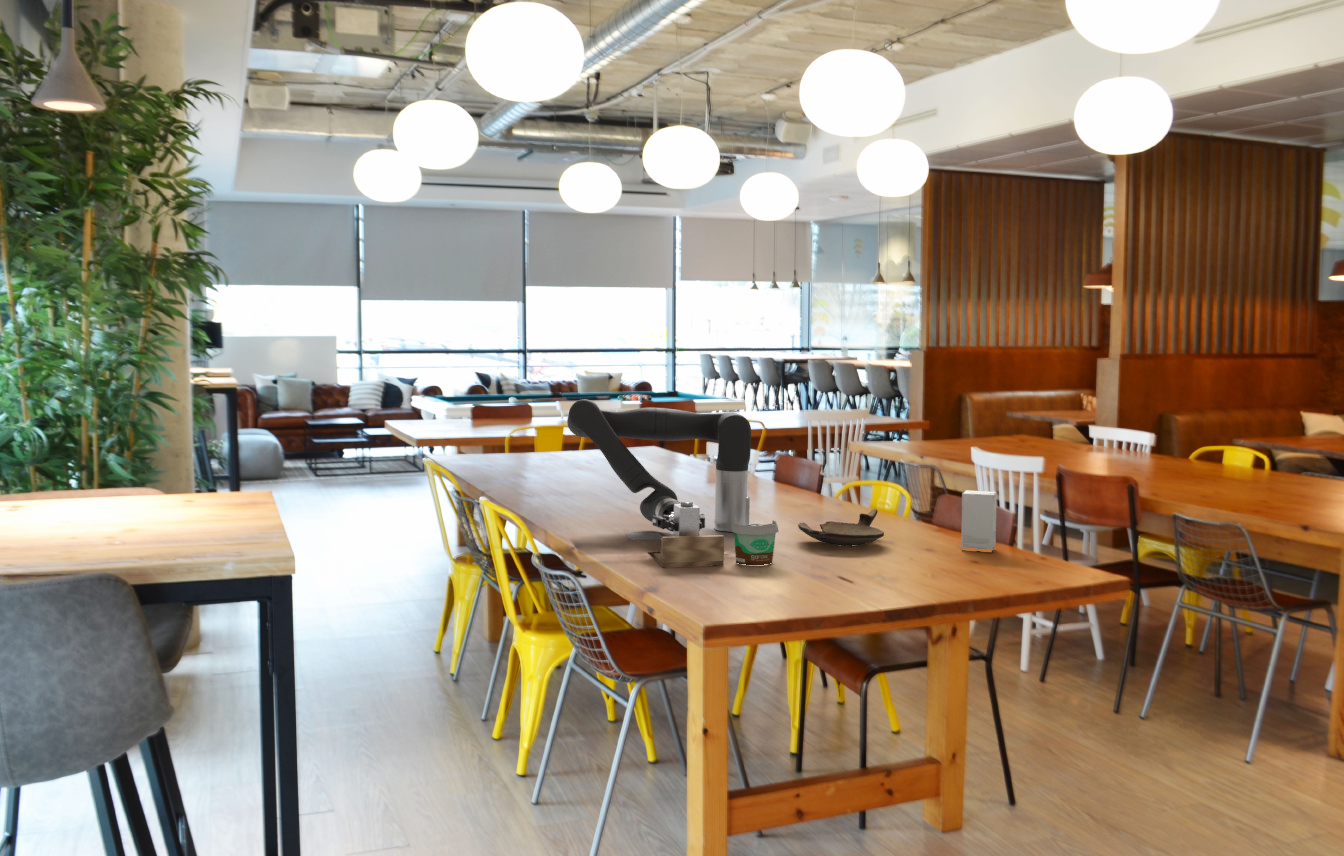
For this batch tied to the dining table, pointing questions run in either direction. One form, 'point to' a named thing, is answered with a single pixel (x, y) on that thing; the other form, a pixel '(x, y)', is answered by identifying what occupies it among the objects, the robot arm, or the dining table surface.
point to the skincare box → (978, 519)
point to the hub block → (686, 519)
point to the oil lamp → (846, 531)
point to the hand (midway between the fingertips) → (687, 527)
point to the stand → (643, 536)
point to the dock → (690, 551)
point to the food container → (754, 543)
